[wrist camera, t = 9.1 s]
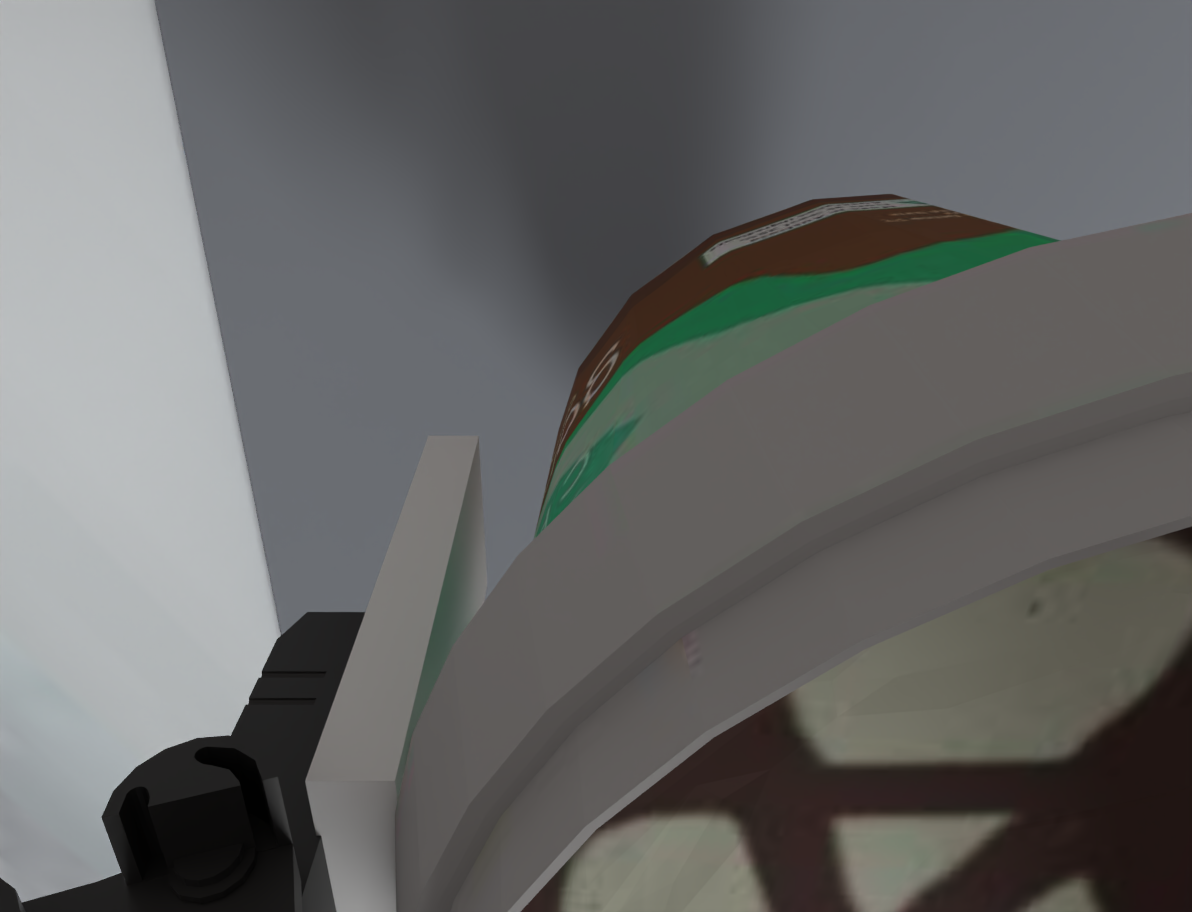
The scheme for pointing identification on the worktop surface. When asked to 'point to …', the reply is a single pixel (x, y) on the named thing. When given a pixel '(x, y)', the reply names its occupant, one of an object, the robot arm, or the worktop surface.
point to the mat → (588, 200)
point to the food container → (843, 591)
